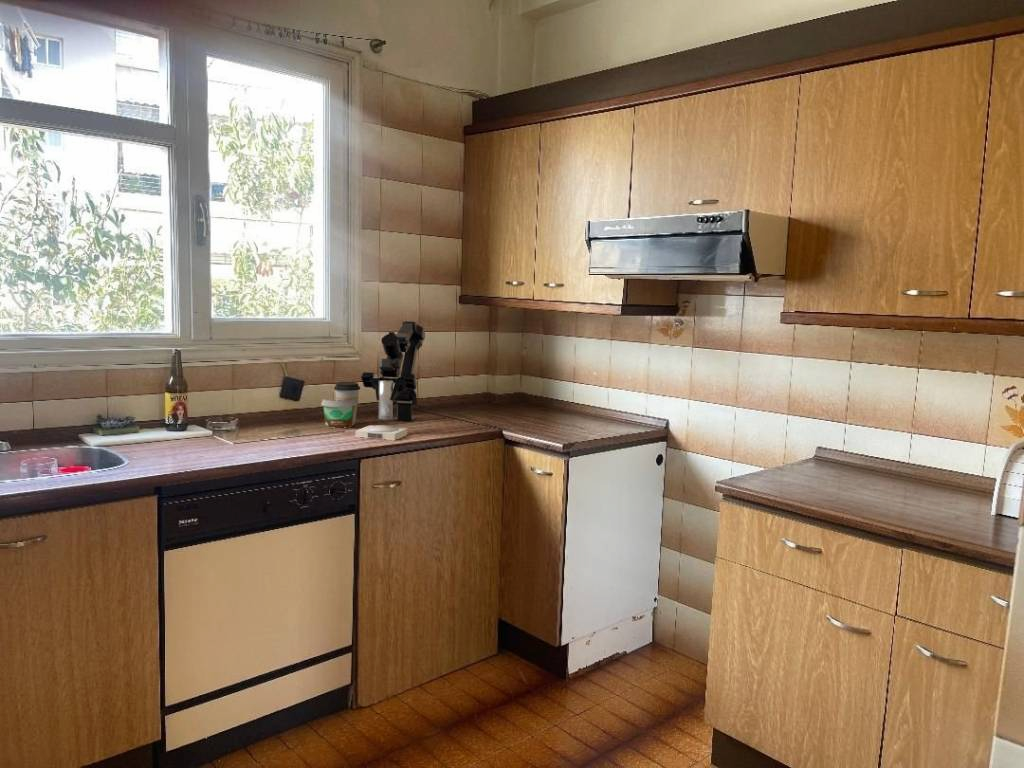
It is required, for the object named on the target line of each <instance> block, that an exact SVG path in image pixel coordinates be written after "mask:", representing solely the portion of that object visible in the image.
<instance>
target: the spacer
mask: <svg viewBox="0 0 1024 768" xmlns="http://www.w3.org/2000/svg"><path fill="white" fill-rule="evenodd" d="M393 389H394V384H393V381H392V380H379V399H378V416H377V417H378V419H379V420H391V419H394V418H393V411H394V410H393V409H394V408H393V406H394V404H393V401H392V400H391V398H392V394H393Z"/></svg>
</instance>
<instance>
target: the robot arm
mask: <svg viewBox="0 0 1024 768" xmlns="http://www.w3.org/2000/svg"><path fill="white" fill-rule="evenodd" d="M425 338H426V331H425V330H424V328H423V327H422V326H421V325H419V324H417V322H415V321H414V320H412V321H411V320H405V321H403V322H402V325H401V327H400V328H399V330H398V331H397V332H396V333H395V331H389V332H388V334H387V333H386V334H385V335H384V336H383V337H381V340H380V341H381V344H382V347H383V349H382V350H383V352H384V355H386V358H380V359H379V366H378V368H379V370H380V371H379V373H380V375H379V374H375V372H374V371H363V372H362V373H361V376H360V378H361V381H362V384H363V387H364V388H372V389H373V390H375V397H376V401H379V380H392V381H393V394H392V398H391V400H392V401H393V405H396V418H393V421H397V422H412V421H414V420H416V418H415V417H413V406H417V405H418V396H417V395H418V394H417V392H416V389H417V387H418V381H417V378H416V375H415V373H414V371H415V365H416V359H417V354H418V353H417V352H418V351H419V349H420V348H421V347H423V345H424V341H425ZM403 353H404V354H403Z"/></svg>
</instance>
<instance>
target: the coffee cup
mask: <svg viewBox="0 0 1024 768" xmlns="http://www.w3.org/2000/svg"><path fill="white" fill-rule="evenodd" d="M333 390H335V391H334V393H335V396H334V398H335V401H336V400H342V401H349V400H354V399H355V400H356V405H355V406H354V414H353V423H352V424H354V425H356V419H357V418H356V417H357V411H358V404H359V390H361V386H360V385H359V383H358V382H353V381H341V382H336V383H335V386H334V387H333Z"/></svg>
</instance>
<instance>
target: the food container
mask: <svg viewBox="0 0 1024 768" xmlns="http://www.w3.org/2000/svg"><path fill="white" fill-rule="evenodd" d="M320 405H321V406H322V407H323V415H324V425H326V426H329V427H335V428H344V427H350V426H352V427H353V425H352V423H353V414H354V406H355V405H356V400H355V399H354V400H349V401H342V400H336V399H335V400H328V399H324V398H322V401H321V404H320ZM326 426H325V427H326ZM350 428H351V427H350ZM344 429H345V428H344Z"/></svg>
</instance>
